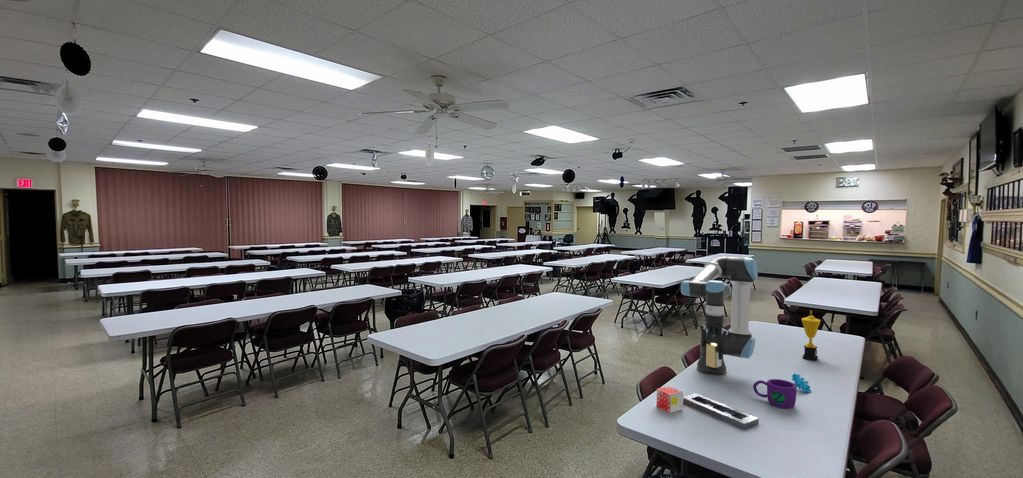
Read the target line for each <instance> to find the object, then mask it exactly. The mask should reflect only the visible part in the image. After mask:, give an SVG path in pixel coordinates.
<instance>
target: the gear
mask: <svg viewBox="0 0 1023 478" xmlns="http://www.w3.org/2000/svg"><path fill="white" fill-rule="evenodd" d="M791 380H792V381H794V382H793V383H794V384H795V385H796V386H797V388H798V390H801V391H802V392H803V393H806V394H809V393H810V392H811V385H809V380H805V378H804V377H803V376H802V377H801V375H800V374H799V373H798V374H797V373H796V372H795V373H793V374H792V375H791Z"/></svg>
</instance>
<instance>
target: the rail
mask: <svg viewBox="0 0 1023 478" xmlns="http://www.w3.org/2000/svg"><path fill="white" fill-rule="evenodd" d="M683 405H687V406H689V407H691V408H693V409H696V410H698V411H700V412H703V413H705V414H708V415H710V416H712V417H714V418H716V419H718V420H720V421H723V422H725V423H728V424H730V425H733V426H735V427H737V428H739V429H742V430H743V431H745V430H747V429H750V428H752V427H756V426H757V425H759V424H760V421H759V420H760V419H759V417H756V416H755V415H751V414H749V413H747V412H744V411H742V410H739V409H737V408H734V407H732V406H729V405H727V404H725V403H721V402H719V401H717V400H714V399H712V398H709V397H707V396H704V395H701V394H700V393H696V392H694V393H691V394H687V395H683Z"/></svg>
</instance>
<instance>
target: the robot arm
mask: <svg viewBox="0 0 1023 478" xmlns="http://www.w3.org/2000/svg"><path fill="white" fill-rule="evenodd" d="M758 271H759V270H758V266H757V262H756V260H755V259H754V258H752V257H745V256H744V257H743V256H736V257H735V256H720V257H715V258H713V259H711V260H709V261H707V262H706V263H705V264H704V266H703V269H701V270H700V271H699V272H698V273H697V274H696V275H695V276H694V277H693V278H692V279H691V280H682V282H681V284H680V293H681V294H682V295H683V296H688V297H697V298H704V299H705V313H706V314H705V324H702V325H700V337H699V339H700V355H699V358H698V362H697V364H696V370H697V371H699V372H701V371H702V372H701V373H703V372H704V374H707V373H708V374H707V375H713V374H714V375H715V376H716V375H717V376H718V375H720V376H721V375H726V374H727V366H726V363H725V360H724V356H731V357H737V358H740V359H750V358H751V357H752V356H753V354H754V350H755V346H756V337H754V336H752V332H751V331H750V330H749V328H750V326H749V324H750V305H751V303H750V302H751V301H750V300H751V298H750V297H751V286H752V285H753V284H754V282H755V281H756V280H758V277H759V276H758V275H759V274H758ZM718 278H727V279H729V283H731V284H732V287H731V286H730V285H729V283H726V282H724V281H721V280H716V279H718ZM730 296H731V314H730V328H728V330H727V329H725V328H724V314H725V305H724V304H725V300H726V299H728V298H729V297H730ZM709 343H716V344H717V348H718V351H717V352H716V366H717V368H713V367H710V366H707V365H706V344H709ZM719 366H721V367H719Z"/></svg>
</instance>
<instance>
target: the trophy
mask: <svg viewBox="0 0 1023 478" xmlns="http://www.w3.org/2000/svg"><path fill="white" fill-rule="evenodd" d="M812 314H813V310H810V315H808V316H806V317H802V318H801V323H802V325H803V329H804V332H805V335H806V337H807V338H808V340H809V341H808V342H807V343H806V344H804V346H803V348H804V351H803V352H804V353H803V354H802V359H804V360H808V361H815V362H817V361H818V359H819V355H818V346H815V344H814V343H813V338H815V337H816V335H817V332H818V330H819V329H818V328H819V326H820V325H821V319H818V318H816V317H815V316H814V315H812Z"/></svg>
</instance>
